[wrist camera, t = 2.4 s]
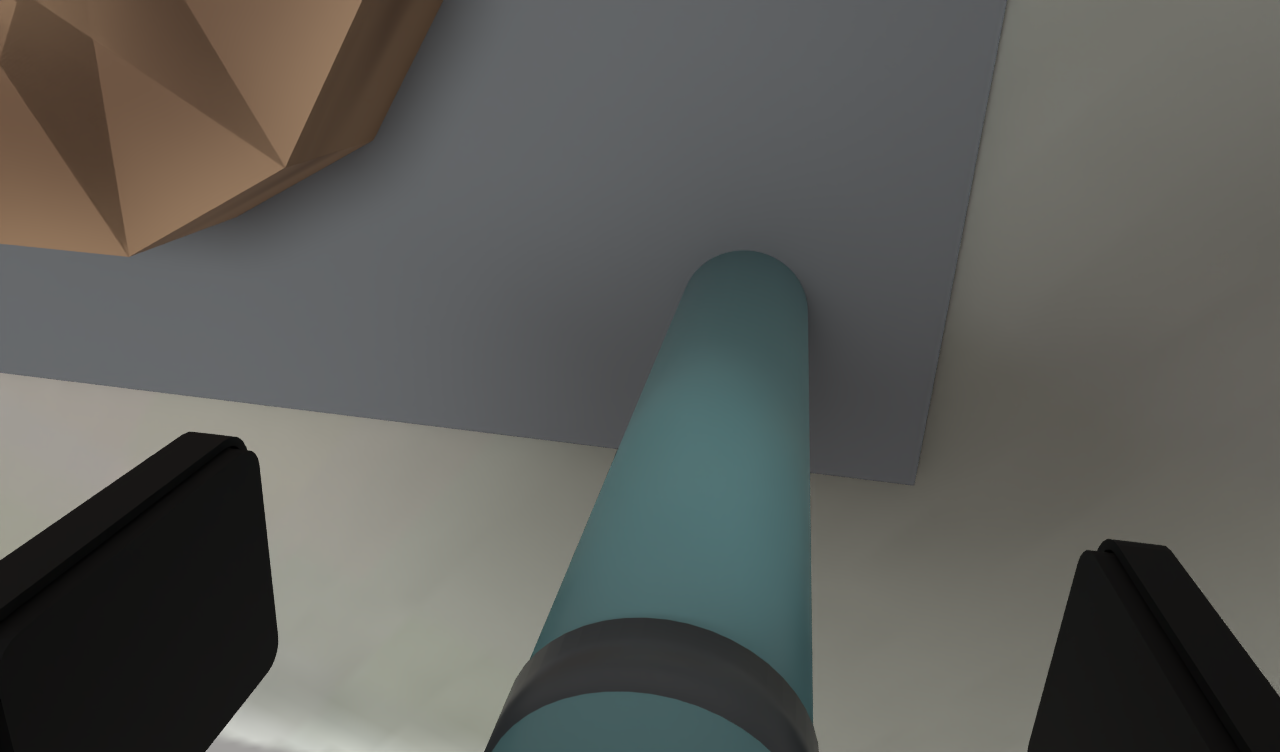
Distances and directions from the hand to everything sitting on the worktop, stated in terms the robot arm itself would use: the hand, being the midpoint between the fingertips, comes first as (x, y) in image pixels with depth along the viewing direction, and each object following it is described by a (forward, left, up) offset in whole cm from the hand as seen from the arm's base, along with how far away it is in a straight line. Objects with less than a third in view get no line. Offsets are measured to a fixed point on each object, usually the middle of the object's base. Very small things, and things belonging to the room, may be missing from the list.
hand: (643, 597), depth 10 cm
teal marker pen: (-1, 0, -10) cm, 10 cm away
